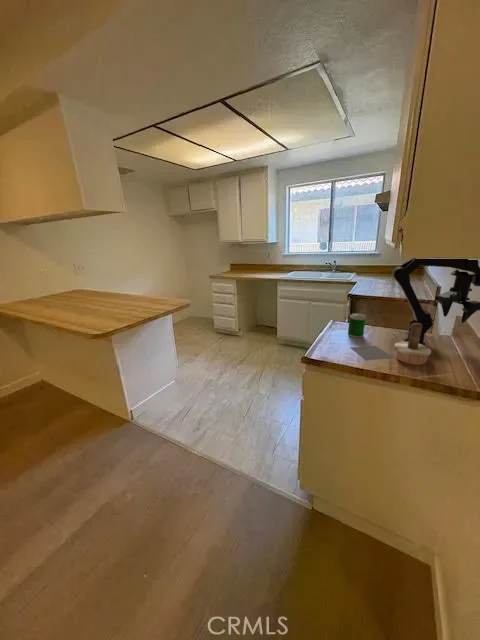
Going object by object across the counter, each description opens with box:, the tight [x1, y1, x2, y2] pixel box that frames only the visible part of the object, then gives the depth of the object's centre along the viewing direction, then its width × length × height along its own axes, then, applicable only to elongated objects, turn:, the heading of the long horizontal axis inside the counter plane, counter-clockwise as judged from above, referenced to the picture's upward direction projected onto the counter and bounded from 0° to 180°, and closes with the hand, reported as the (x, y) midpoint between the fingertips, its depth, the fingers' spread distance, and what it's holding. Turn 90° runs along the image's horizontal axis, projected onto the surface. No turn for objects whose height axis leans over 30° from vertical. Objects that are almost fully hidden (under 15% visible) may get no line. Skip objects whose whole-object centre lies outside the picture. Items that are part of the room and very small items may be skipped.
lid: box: [394, 323, 432, 357], centre depth 110 cm, size 13×13×12 cm
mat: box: [349, 345, 395, 361], centre depth 119 cm, size 13×13×1 cm
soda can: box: [347, 312, 367, 339], centre depth 137 cm, size 8×8×12 cm
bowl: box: [394, 349, 429, 366], centre depth 112 cm, size 11×11×4 cm
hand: (453, 319), depth 121 cm, fingers open, 9 cm apart
